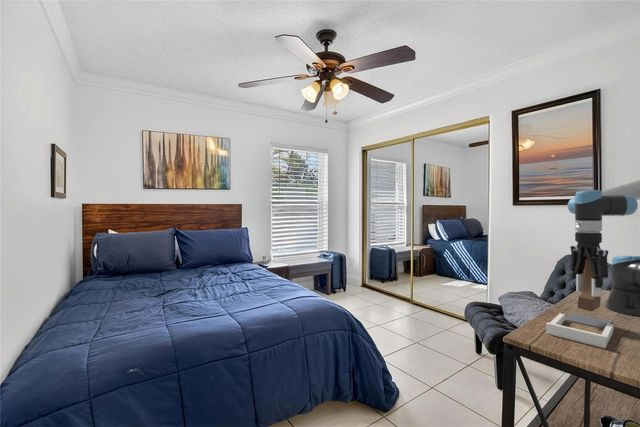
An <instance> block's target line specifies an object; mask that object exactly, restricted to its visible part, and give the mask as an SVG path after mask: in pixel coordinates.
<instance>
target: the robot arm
mask: <svg viewBox="0 0 640 427" xmlns="http://www.w3.org/2000/svg"><path fill="white" fill-rule="evenodd" d="M638 200H640V179H638V180H635V181H632V182H630V183H625V184H621V185H619V186H615V187H612V188H609V189H604V190H600V189H599V190H598V189H592V190H589V189H588V190H578V191H576V193H575V197H572V198H571V199H569V201H567V202H568V203H567V209H568V211H569V213H571V214H574V215H575V216H574V220H575V222H574V223H575V224H574V226H575V227H574V230H575V233H574V241H575V242H577V244H576V245H570V252H571V254H570V271H571V272H574V274H575V282H576V283H575V284H576V286H575V287H576V289H575V291H576V292H582V288H583V281H584V269H585V260H586V259H588V260H589V261H590V264H591V268H592V272H593V276H594V277H592V296H593V297H598V296H601V297H602V290H601V288H602V289H603V279H608V278H609V267H608V255H609V250H607V249H602V248H601V246H600V244H601V243H602V242H603V233H601V232H602V231H603V216H604V217H605V216H611V217H612V216H613V217H614V216H616V217H617V216H620V217H624V216H631V215H633V214H634V213H636V212H637V209H638V205H639V204H638ZM610 266H611V268H610V269H611V270H610V271H611V288H610V289H611V290H610V292H609V295H608V298H607V300H606V301H605V307H606V309H608V310H611V311H612V312H618V313H620V314H625V315H629V316H630V315H631V316H636V317H640V255H615V256H613V257H612V259H611V264H610Z"/></svg>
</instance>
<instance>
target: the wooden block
mask: <svg viewBox="0 0 640 427" xmlns="http://www.w3.org/2000/svg"><path fill="white" fill-rule="evenodd" d="M583 272H584V281H583V288H582V291H580V292H581V293H580V294H579V295H578V296H577V309H581V310H584V311H588V312H594V311H595V310H597V309H599V308H600V306H601V299H602V298H601V297H602V295H601V296H598V297H593V296H592V277H594V276H593V272H592V268H591V264H590V261H589V260H588V258H587V259H586V260H585V268H584V271H583ZM602 289H603V287H602V288H601V291H602Z"/></svg>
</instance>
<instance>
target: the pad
mask: <svg viewBox="0 0 640 427" xmlns="http://www.w3.org/2000/svg"><path fill="white" fill-rule="evenodd" d="M565 321H566V322H570V323H576V324H580V325H584V326H589V327H592V328H593V327H594V328H598V329H601V330H604V329H605V327H606V325H607V323H610V324H613V323H612V322H613V321H612V320H608V319H603V318H598V317H593V316H589V315H584V314H579V313H574V312H570V313H569V315H567V317H565ZM565 321H564V322H565Z"/></svg>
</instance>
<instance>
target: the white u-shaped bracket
mask: <svg viewBox="0 0 640 427" xmlns="http://www.w3.org/2000/svg"><path fill="white" fill-rule="evenodd" d="M565 316H566V315H565V313H561V312H560V313H558V314H557V315H556V316H555V317H554V318H553V319H552V320H551V321H550V322H546V324H545V334H547V335H552V336H554V337H559V338H563V339H566V340H571V341H574V342H579V343H582V344H586V345H591V346H594V347H599V348H601V349H606V348H607V346H608V344H609V341H610V340H611V337H612V335H613V333H614V329H615V328H614V327H615V326H614V323H611V324H610V323H607V325H606V327H605V329H603V330H602V333H601V334H600V333H595V332H592V331H587V330H584V329H579V328H574V327H569V326H565V325H562V324H563V323H564V322H565V319H566V317H565Z"/></svg>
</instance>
